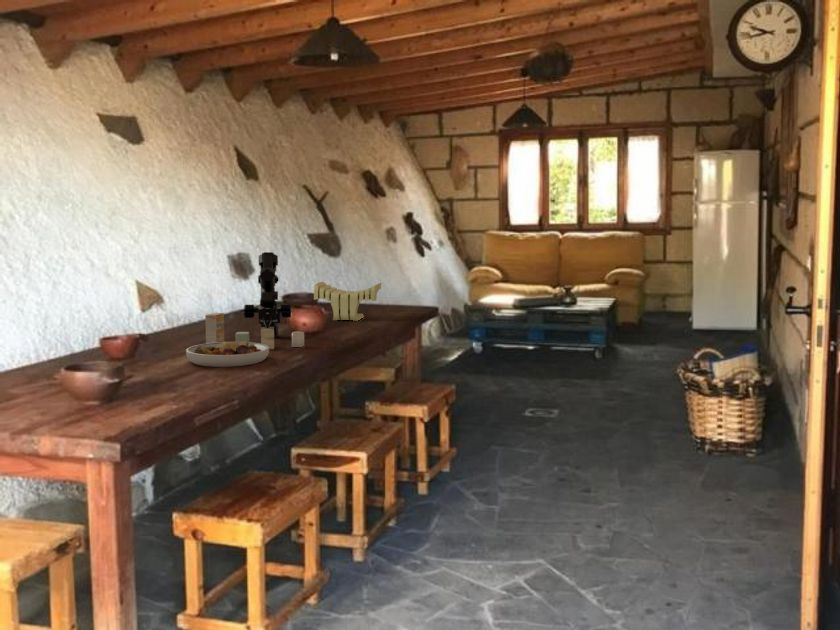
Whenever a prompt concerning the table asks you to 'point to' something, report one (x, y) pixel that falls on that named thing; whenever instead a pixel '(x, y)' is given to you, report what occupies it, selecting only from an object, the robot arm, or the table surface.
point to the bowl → (227, 354)
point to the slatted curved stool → (345, 300)
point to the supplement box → (214, 327)
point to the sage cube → (242, 336)
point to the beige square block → (297, 339)
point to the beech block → (267, 336)
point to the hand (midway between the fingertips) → (267, 327)
